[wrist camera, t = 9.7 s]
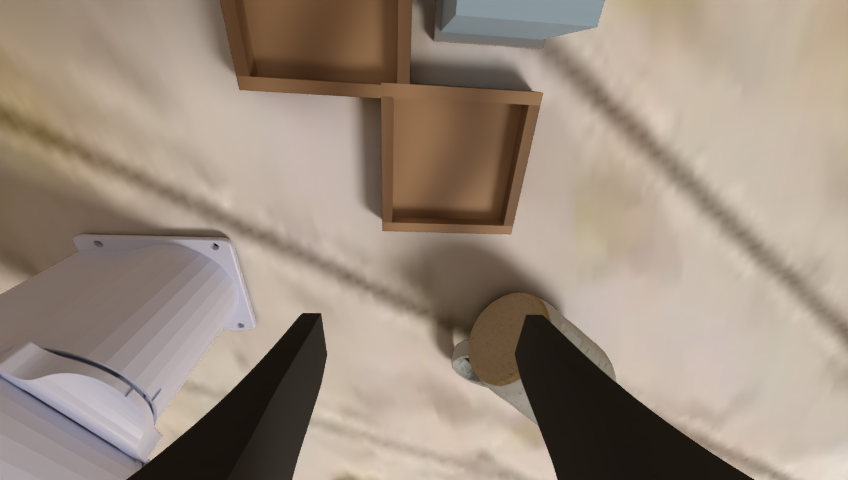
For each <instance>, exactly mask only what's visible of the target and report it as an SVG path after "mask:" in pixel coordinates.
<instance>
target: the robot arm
mask: <svg viewBox="0 0 848 480" xmlns="http://www.w3.org/2000/svg"><path fill="white" fill-rule="evenodd" d="M101 242H102V243H101ZM73 243H74V245H75V247H76V248H77V250H78V252H76V253H75V254H73V255H71V256H69V257H67V258H66V259H64V260H62V261H60V262H58V263H57V264H55V265H53V266H51V267H49V268H48V269H46V270H44V271H42V272H40V273H38V274H37V275H35V276H33V277H31V278H29V279H28V280H26V281H24V282H22V283H20V284H19V285H17V286H15V287H13V288H11V289H10V290H8V291H6V292H4V293H2V294H0V480H292V478H293V474H294V470H295V467H296V463H297V459H298V456H299V453H300V450H301V447H302V443H303V440H304V437H305V434H306V431H307V428H308V425H309V421H310V418H311V415H312V412H313V409H314V406H315V403H316V399H317V396H318V393H319V390H320V386H321V383H322V378H323V373H324V368H325V363H326V358H327V351H326V344H325V337H324V330H323V323H322V317H321V313H303V314H301V315H300V316H299V317H298V319H297V320H296V321H295V322H294V323H293V325H292V326H291V327H290V328H289V329H288V330H287V332H286V333H285V334H284V335H283V336H282V337H281V339H280V340H279V341H278V342H277V343H276V344H275V345H274V347H273V348H272V349H271V350H270V351H269V352H268V353H267V354H266V355H265V356H264V358H263V359H262V360H261V361H260V362H259V363H258V364H257V365H256V366H255V367H254V368H253V369H252V370H251V371H250V372H249V373H248V375H247V376H246V377H245V378H244V379H243V380H242V381H241V382H240V383H239V384H238V385H237V386H236V387H235V388H234V389H233V390H232V391H231V392H230V393H229V394H228V395H226V396H225V397H224V398H223V399H222V400H221V401H220V402H219V403H218V404H217V405H216V406H215V407H214V408H213V409H211V410H210V411H209V412H208V413H207V414H206V415H205V416H204V417H203V418H201V419H200V420H199V421H198V422H197V423H196V424H195V425H194V426H192V427H191V428H190V429H189V430H188V431H186V432H185V433H184V434H183V435H182V436H180V437H179V438H178V439H177V440H176V441H174V442H173V443H172V444H171V445H170V446H168V447H167V448H166V449H165V450H164V451H162V452H161V453H160V454H159V455H157V456H156V457H155V458H154V459H152V460H151V461H150V460H149V459H148V458H149V457H150V455H151V454H152V452H153V451H154V449H155V448H156V446H157V445H158V443H159V442H160V440H161V439H162V437H163V435H162V434H161V433H160V432H158V430H157V429H156V428H155V426H154V425H155V424H156V422H157V421H158V419H159V418H160V416H161V415H162V414H163V412H164V411H165V409H166V408H167V407H168V405H169V404H170V402H171V401H172V400H173V398H174V397H175V395H176V394H177V392H178V391H179V390H180V388H181V387H182V385H183V384H184V383H185V381H186V380H187V378H188V377H189V376H190V374H191V373H192V371H193V370H194V369H195V367H196V366H197V364H198V363H199V361H200V360H201V359H202V357H203V356H204V354H205V353H206V352H207V350H208V349H209V347H210V346H211V345H212V343H213V342H214V340H215V339H216V337H217V336H218V335H219V333H220V332H221V330H251V329H253V328H254V327H255V325H256V320H255V317H254V313H253V310H252V306H251V303H250V300H249V296H248V293H247V289H246V286H245V283H244V279H243V276H242V272H241V269H240V265H239V262H238V259H237V255H236V252H235V248H234V245H233V243H232V241H231V240H229V239H227V238H222V237H181V236H139V235H98V234H80V235H78V236H76V237H74V238H73ZM214 243H215V244H217V245H218V246H219V247H217V246H215V245H214ZM241 323H242V324H241ZM514 354H515V358H516V363H517V367H518V371H519V374H520V378H521V382H522V384H523V387H524V390H525V392H526V395H527V398H528V400H529V403H530V405H531V408H532V410H533V413H534V416H535V418H536V421H537V423H538V426H539V428H540V431H541V433H542V436H543V438H544V441H545V443H546V446H547V449H548V451H549V454H550V457H551V460H552V463H553V466H554V469H555V472H556V476H557V479H558V480H754V479H752V478H751V477H749V476H747V475H746V474H744V473H742V472H741V471H739V470H738V469H736V468H734V467H733V466H731V465H730V464H728V463H726V462H725V461H723V460H722V459H720V458H719V457H717V456H716V455H714V454H712V453H711V452H709V451H708V450H706V449H705V448H703V447H702V446H701V445H699V444H698V443H696V442H695V441H693V440H692V439H690V438H689V437H687V436H686V435H684V434H683V433H681V432H680V431H679V430H677V429H676V428H674V427H673V426H672V425H670V424H669V423H667V422H666V421H665V420H663V419H662V418H661V417H659V416H658V415H657V414H655V413H654V412H653V411H651V410H650V409H649V408H647V407H646V406H645V405H643V404H642V403H641V402H639V401H638V400H637V399H636V398H634V397H633V396H632V395H631V394H629V393H628V392H627V391H626V390H625V389H623V388H622V387H621V386H620V385H619V384H617V383H616V382H615V381H614V380H613V379H612V378H610V377H609V376H608V375H607V374H606V373H605V372H603V371H602V370H601V369H600V368H599V367H598V366H597V365H596V364H594V363H593V362H592V361H591V360H590V359H589V358H588V357H587V356H586V355H585V354H584V353H583V352H581V351H580V350H579V349H578V348H577V347H576V346H575V345H574V344H573V343H572V342H571V341H570V340H569V339H568V338H567V337H566V336H565V335H564V334H563V333H561V332H560V331H559V330H558V329H557V328H556V327H555V326H554V325H553V324H552V323H551V322H550V321H549V320H548V319H547V318H546V317H545V316H543V315H526V317H525V320H524V323H523V327H522V330H521V333H520V337H519V340H518V343H517V347H516V350H515V353H514Z"/></svg>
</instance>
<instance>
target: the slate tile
mask: <svg viewBox="0 0 848 480" xmlns="http://www.w3.org/2000/svg"><path fill="white" fill-rule="evenodd" d="M442 7H443V0H436V7H435V23H434V39H433V41H437V42H451V43H464V44H478V45H491V46H505V47H518V48H532V49H542V48H544V44H545V40H546V39H542V40H539V39H526V38H514V37H501V36H488V35H476V34H463V33H451V32H441V21H442Z"/></svg>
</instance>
